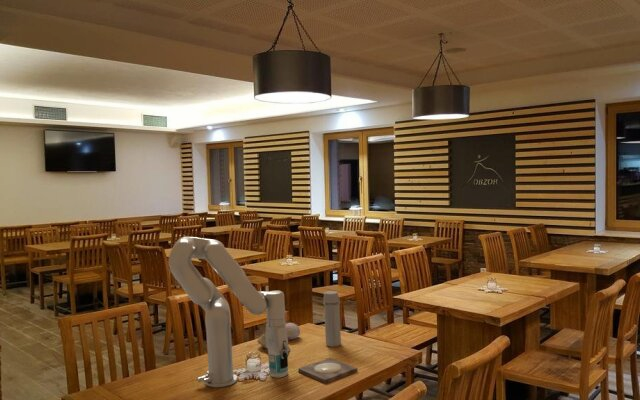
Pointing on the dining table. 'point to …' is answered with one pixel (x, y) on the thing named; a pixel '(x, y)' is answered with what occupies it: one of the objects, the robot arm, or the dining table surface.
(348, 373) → the serving board
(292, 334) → the decorative item
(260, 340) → the oil lamp
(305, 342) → the dining table surface
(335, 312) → the water bottle
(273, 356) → the pill bottle
